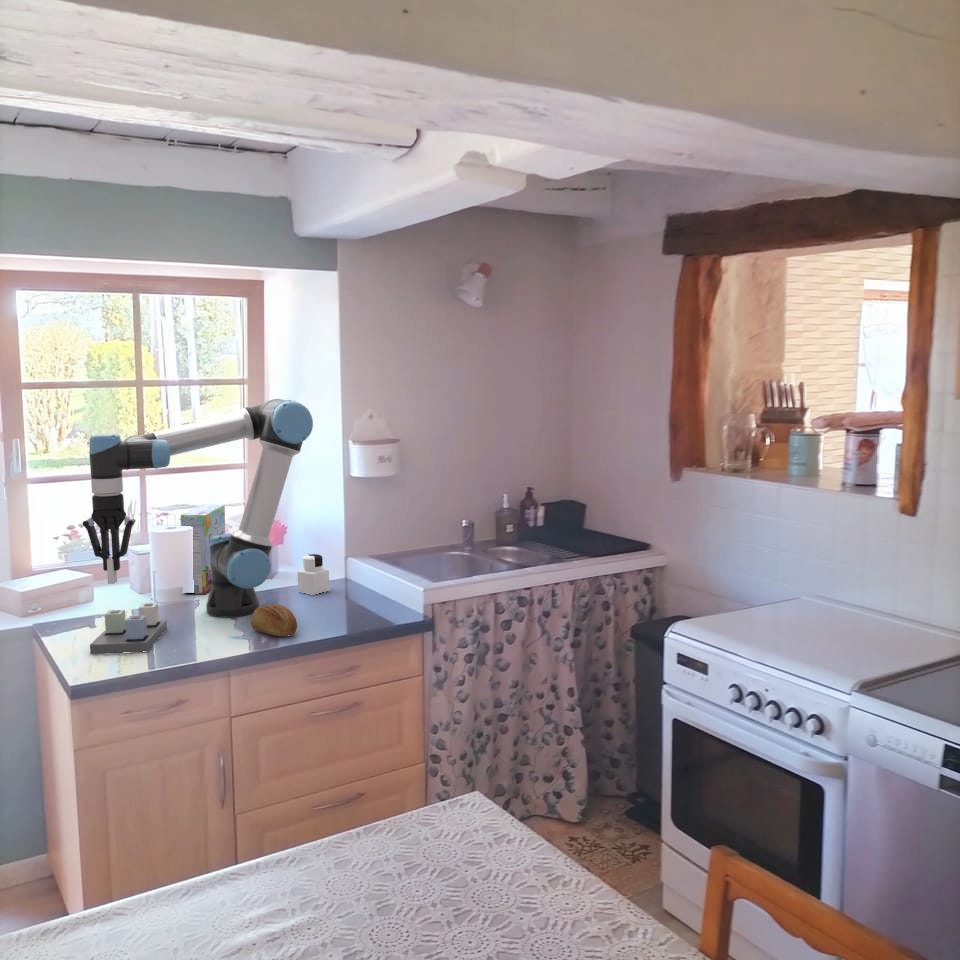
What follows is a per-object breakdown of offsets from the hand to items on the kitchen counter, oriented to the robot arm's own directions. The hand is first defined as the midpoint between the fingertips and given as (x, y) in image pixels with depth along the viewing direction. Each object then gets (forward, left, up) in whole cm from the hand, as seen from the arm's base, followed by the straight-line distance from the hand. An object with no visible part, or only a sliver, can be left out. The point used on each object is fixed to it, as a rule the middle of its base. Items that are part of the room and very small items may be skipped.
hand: (112, 582), depth 237 cm
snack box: (-12, -57, -16) cm, 60 cm away
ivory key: (-7, -6, -13) cm, 16 cm away
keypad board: (-4, 0, -16) cm, 16 cm away
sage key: (0, 0, -13) cm, 13 cm away
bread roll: (-41, -3, -16) cm, 44 cm away
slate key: (-7, +6, -13) cm, 16 cm away
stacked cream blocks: (-48, -46, -16) cm, 68 cm away
